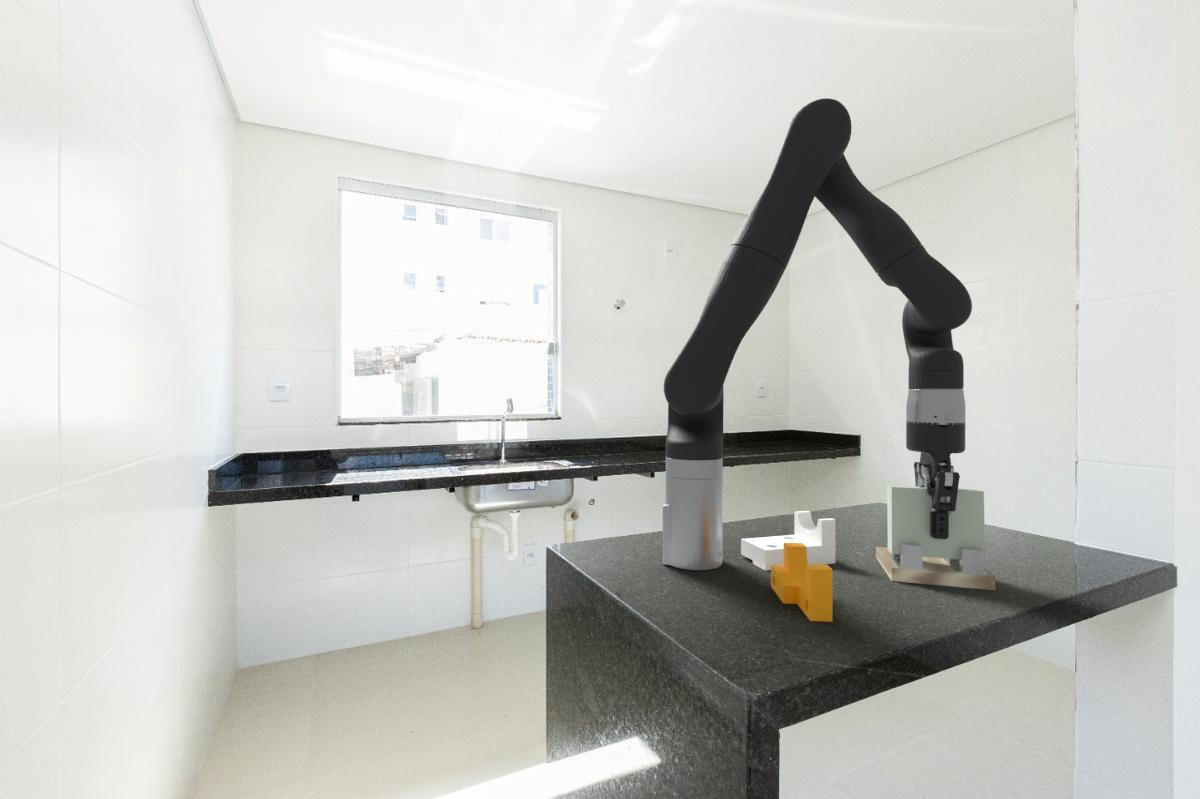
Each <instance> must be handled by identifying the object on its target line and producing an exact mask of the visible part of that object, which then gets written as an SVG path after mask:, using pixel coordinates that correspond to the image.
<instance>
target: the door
mask: <svg viewBox="0 0 1200 799" xmlns="http://www.w3.org/2000/svg"><path fill="white" fill-rule="evenodd" d="M886 489H887V492H886V494H887V496H886V497H887V502H886V503H887V505H886V506H887V510H886V511H887V516H886V518H887V522H886V523H887V548H888V551H889V552H890V553H891V554H898V555H901V543H912V544H921V545H922V546H923V557H935V558H947V559H959V560H960V547H967V548H981V549H982V550H984V563H985V562H986V542H985V539H986V537H985V536H986V535H985V532H986V530H985V491H983V490H980V489H969V488H958V493H957V501H956V509H955V511H951V513H948V514H949V537H948V538H947V539H935V538H933V537H931V536H930V509H929V506H930V504H929V497H928V496H926V495H925V487H916V486H913V485H912V486H911V485H910V486H908V485H889V484H887V485H886ZM932 490H935V489H932ZM940 502H944V497H941V500H940Z"/></svg>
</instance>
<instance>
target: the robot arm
mask: <svg viewBox="0 0 1200 799" xmlns="http://www.w3.org/2000/svg"><path fill="white" fill-rule="evenodd" d="M785 133H786V134H785V137H784V139H783V142H782V145H781V148H780V151H779V154H778V156H777V159H776V161H775V164H774V166H773V168H772V170H771V174H770V176H769V178H768V180H767V182H766V184H765V186H764V188H763V189H762V191H761V193H760V194H759V196H758V198H757V200H756V201H755V202H754V204H753V206H752V208H750V210H749V213H748V214H747V216H746V217H745V219H744V221H743V223H742V225H741V226H740V228H739V229H738V232H737V234H736V235H735V237H734V239H733V241H732V243H731V245H730V247H729V248H728V251H727V253H726V255H725V258H724V259H723V261H722V264H721V266H720V267H719V269H718V272H717V274H716V277H715V279H714V282H713V284H712V286H711V288H710V290H709V293H708V296H707V298H706V300H705V303H704V306H703V309H702V312H701V313H700V316H699V319H698V322H696V323H697V324H696V325H695V327H694V328H693V331H692V332H691V334H690V336H689V338H688V339H687V341H686V342H685V344H684V346H683V348H682V350H681V351H680V353H679V354H678V356H677V357H676V358H675V360H674V362H673V363H672V365H671V366H670V368H669V370H668V371H667V373H666V376H665V378H664V381H663V394H664V397H665V400H666V402H667V404H668V405H667V406H668V408H667V432H666V439H665V503H663V506H662V565H667V566H671V567H674V568H678V569H681V570H682V569H683V570H689V571H708V570H709V571H710V570H715V569H718V568H720V567H721V566H722V565H723V554H724V551H723V526H724V525H723V523H724V522H723V521H724V520H723V515H724V514H723V511H724V510H723V502H724V500H723V498H724V496H723V493H724V492H723V491H724V490H723V488H724V487H723V486H724V485H723V483H724V482H723V480H724V479H723V477H724V476H723V473H724V472H723V470H724V469H723V468H724V466H723V461H724V459H723V458H724V457H723V456H724V402H725V401H724V397H725V396H724V384H725V381H726V379H727V376H728V373H729V371H730V368H731V365H732V363H733V360H734V358H735V356H736V353H737V351H738V348H739V346H740V345H741V343H742V341H743V339H744V338H745V337H746V334H747V333H748V332H749V331H750V329H751V327H752V326H753V325H754V323H756V321H757V320H758V318H759V317H760V315H761V313H762V312H763V310H764V309H765V307H766V306H767V304H768V302H770V299H771V297H772V296H773V295H774V292H775V291H776V288H777V287H778V284H779V282H780V281H781V279H782V276H783V274H784V273H785V271H786V269H787V266H788V265H789V262H790V260H791V258H792V255H793V253H794V250H795V248H796V245H797V244H798V243H797V242H798V240H799V238H800V236H801V233H802V231H803V230H802V229H803V227H804V224H805V221H806V219H807V216H808V213H809V210H810V209H811V208H810V207H811V205H812V203H813V201H814V199H815V198H816V199H817V200H818V201H819V202H820V204H821V205H822V206H823V207H824V208H825V209H826V210H827V211H828V212H829V213H830V215H831V216H833V218H834V220H836V221H837V223H839V225H840V226H841V227H842V229H844V231H845V232H846V233H847V234H848V236H849V237H850V239H851V240H852V242H853V243H854V244H855V246H856V247H857V248H858V250H859V251H860V252H861V254H862V255H863V257H864V258H865V259H866V261H867V262H868V264H869V265H870V267H871V268H872V269H873V271H874V272H875V273H876V274H877V276H878V277H879V279H880V280H881V281H882V282H883V283H884V284H885V285H886V286H888V287H893V288H897V289H898V291H900V292H901V293H902V295H903V296H904V297H905V298H906V299H907V301H906V303H905V304H904V308H903V311H902V319H901V322H902V323H901V324H902V325H901V327H902V334H903V340H904V345H905V350H906V354H907V357H908V390H907V399H906V411H905V412H906V416H905V417H906V419H905V420H906V425H905V426H906V428H905V430H906V432H905V434H906V435H905V436H906V437H905V440H906V442H905V443H906V444H905V446H906V449H907V450H908V451H911V452H916V453H917V452H918V453H920V455H919V461H914V463H913V470H914V480H915V487H925V495H926V496H928V497H929V504H930V506H929V509H930V536H931V537H933V538H935V539H947V538H948V537H949V514H948V513H951V511H955V509H956V501H957V493H958V489H959V483H960V479H961V478H960V477H961V476H960V474H959V472H957V471H955V468H954V465H952V460H951V454H962V453H964V452H965V451H966V399H965V394H964V393H965V391H964V387H965V386H964V385H965V384H964V375H965V374H964V366H965V365H964V359H963V358H964V357H963V356H962V354H961V353H960V352H959V351H957V350H956V349H954V345H953V343H954V342H953V337H952V336H953V335H952V331H953V330H955V329H957V328H959V327H961V326H962V325H964V324H965V323H966V322H967V321H968V320H969V318H970V317H971V314H972V310H973V302H972V298H971V295H970V294H969V291H968V289H967V288H966V287H965V285H964V283H963V282H962V281H961V280H960V279H959V278H958V277H957V276H956V275H955V274H954V273H953V272H951V271H950V270H949V269H948V268H946V266H944V265H943V263H941V262H940V261H939V260H937V259H936V258H935V257H933V256H932V255H930V253H929V252H928V251H927V250H926V248H925V246H924V244H922V242H921V241H920V240H919V238H918V237H917V235H916V234H915V232H914V231H913V230H912V228H911V227H910V226H909V225H908V223H907V222H906V221H905V220H904V218H902V217H901V216H900V214H899V213H898V212H897V211H895V209H893V208H892V207H890V206H889V205H888V204H886V203H885V202H884V201H883V200H881V199H880V198H878V197H877V196H876V195H875V194H873V193H872V192H871V191H870V190H868V188H866V186H864V184H863V183H862V182H861V181H860V180H859V179H858V178H857V176H856V174H855V173H854V172H853V170H852V167H851V166H850V165H849V162H848V160H847V157H846V156H845V154H844V153H845V151H846V149H847V147H848V145H849V143H850V141H851V136H852V120H851V115H850V113H849V111H848V109H847V107H846V106H845V105H844V104H843V103H842V102H841V101H839V100H837V99H833V98H831V97H828V98H819V99H816V100H813V101H811V102H809V103H808V104H805V105H804V106H802V108H801V109H800V110H798V111H797V112H796V114H795V115H794V116H793V118H792V119H791V120H790V122H789V124H788V126H787V130H786V132H785ZM932 489H935V490H932ZM941 497H944V502H940V500H941Z"/></svg>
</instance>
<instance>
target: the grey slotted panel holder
mask: <svg viewBox="0 0 1200 799" xmlns="http://www.w3.org/2000/svg"><path fill="white" fill-rule="evenodd" d="M889 557H890V558H891V559H892V561H893V562H894V563H895V564H896V566H897V567H898V568H900V569H912V570H924V571H926V568H925V567H924V566H923V546H922V545H921V544H912V543H901V555H898V554H889ZM943 560H944V561H945V562H946V563H947V564H948V565H950V566H951V567H952V568H953V569H954V570H955V571H956V572H957V573H959V574H971V575H983V576H988V573H986V572H985V571H984V568H985V565H984V564H985V562H984V550H982V549H981V548H967V547H960V560H959V559H947V558H943Z"/></svg>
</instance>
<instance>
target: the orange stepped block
mask: <svg viewBox="0 0 1200 799" xmlns="http://www.w3.org/2000/svg"><path fill="white" fill-rule="evenodd" d="M833 570H834V569H833V568H831V566H829V564H823V565H822V564H808V561H807V550H806V546H805V545H804V544H803V543H784V565H771V570H770V587H771V589H772V590H773V591H774V592H775V594H776V596H777V597H778V598H779V599H780V601H781V603H782V604H790V605H792V604H793V605H794V604H795V605H797V606H798V607H799V608H800V610H801V611H802V612H803V614H804V615H805V616H806V617H807V619H808V620H809V621H810V622H824V623H825V622H826V623H827V622H829V623H833V610H834V609H833V608H834V606H833V605H834V604H833V603H834V602H833V599H834V598H833V595H834V594H833V592H834V589H833V588H834V586H833V578H834V577H833V574H834V573H833V572H834V571H833Z"/></svg>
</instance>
